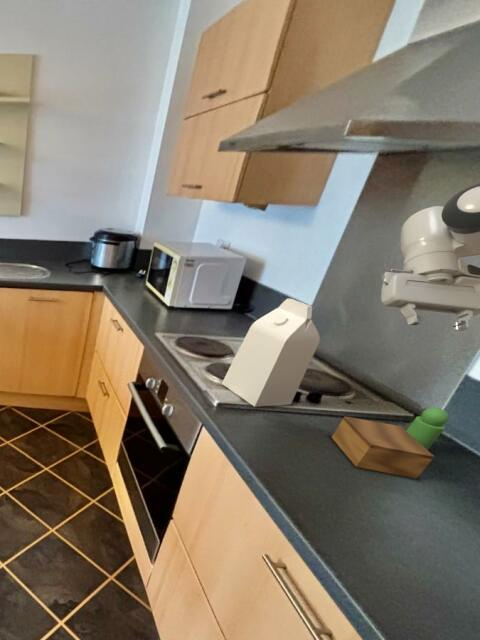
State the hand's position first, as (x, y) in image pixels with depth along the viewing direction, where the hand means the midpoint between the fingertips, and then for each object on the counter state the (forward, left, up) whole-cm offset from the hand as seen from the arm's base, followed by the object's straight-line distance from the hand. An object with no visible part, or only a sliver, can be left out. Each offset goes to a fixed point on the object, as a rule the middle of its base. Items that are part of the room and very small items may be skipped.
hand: (437, 326), depth 94 cm
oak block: (+11, +20, -25) cm, 34 cm away
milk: (+28, -2, -25) cm, 38 cm away
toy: (-1, +12, -25) cm, 28 cm away
